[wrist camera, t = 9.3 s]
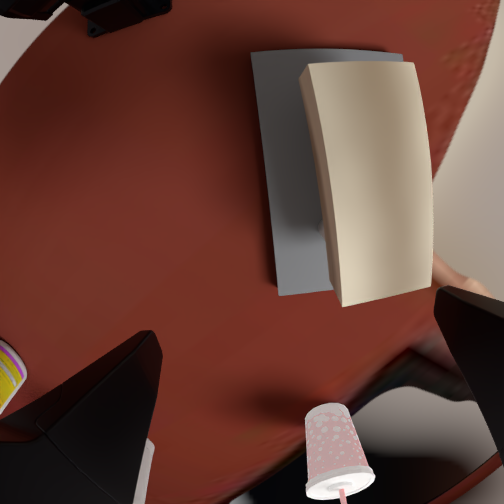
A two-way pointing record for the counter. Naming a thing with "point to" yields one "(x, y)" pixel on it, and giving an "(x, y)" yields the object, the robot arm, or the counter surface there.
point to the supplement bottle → (10, 374)
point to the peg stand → (295, 163)
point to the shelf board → (371, 176)
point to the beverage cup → (334, 454)
